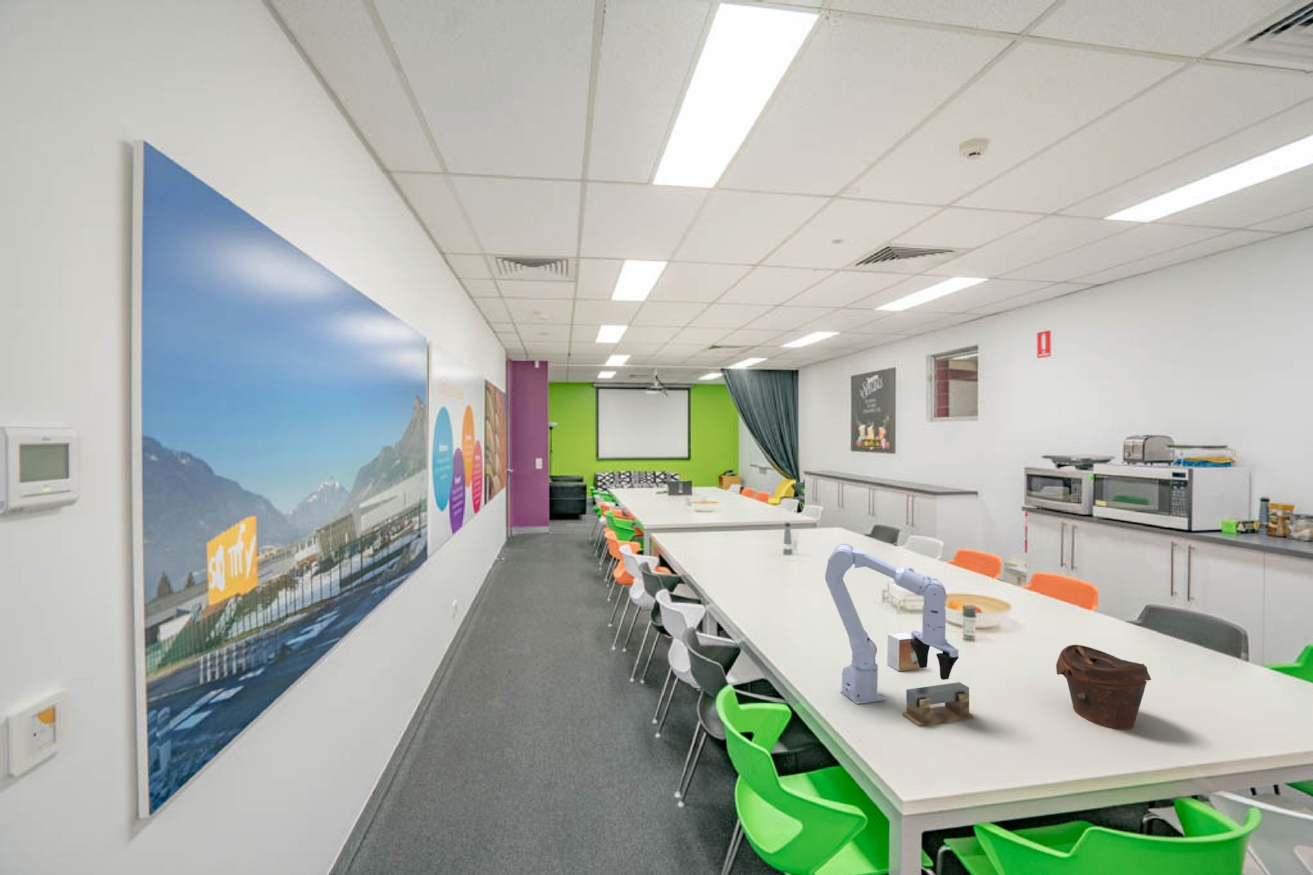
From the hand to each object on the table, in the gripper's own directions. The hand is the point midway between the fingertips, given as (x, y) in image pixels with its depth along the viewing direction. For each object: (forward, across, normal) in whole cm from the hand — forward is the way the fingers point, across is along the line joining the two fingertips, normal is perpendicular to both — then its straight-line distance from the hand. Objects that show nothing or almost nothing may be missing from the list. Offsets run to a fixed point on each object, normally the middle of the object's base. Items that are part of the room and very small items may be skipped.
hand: (933, 672), depth 145 cm
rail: (+6, -3, +2) cm, 7 cm away
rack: (+10, -3, +2) cm, 11 cm away
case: (+11, -15, -43) cm, 47 cm away
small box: (+11, +26, -13) cm, 31 cm away
